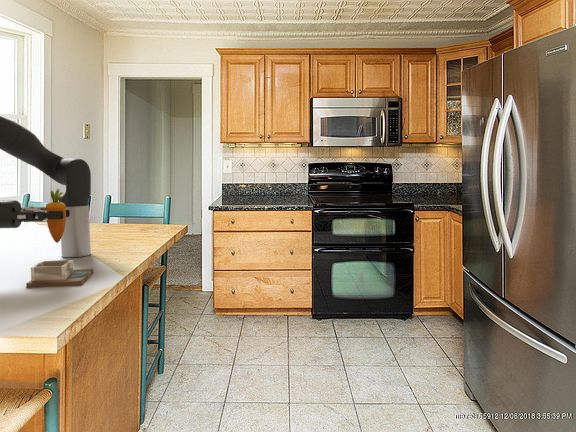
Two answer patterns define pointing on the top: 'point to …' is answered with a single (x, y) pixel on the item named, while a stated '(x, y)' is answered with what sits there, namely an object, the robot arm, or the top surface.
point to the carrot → (56, 225)
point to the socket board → (57, 274)
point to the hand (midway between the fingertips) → (66, 214)
